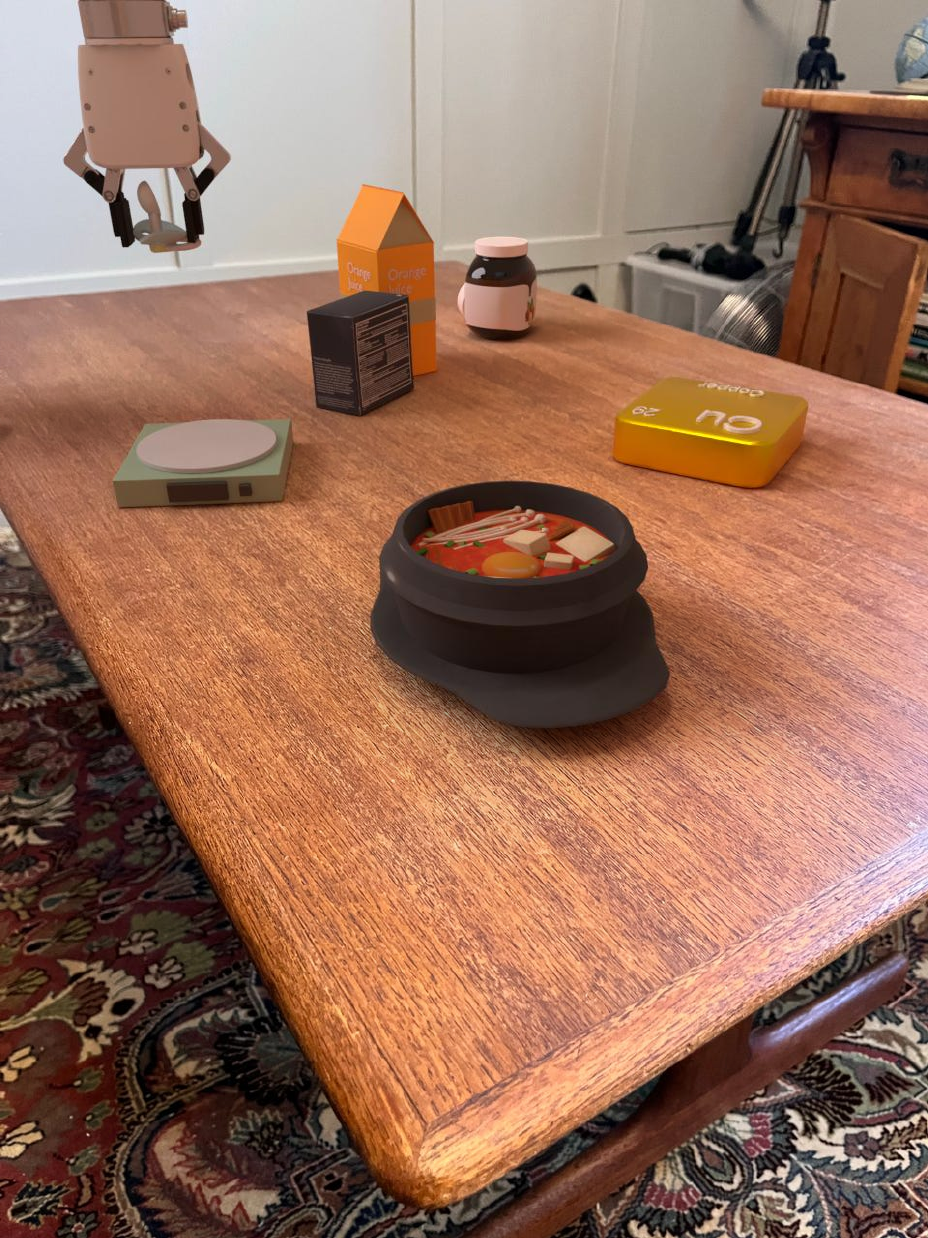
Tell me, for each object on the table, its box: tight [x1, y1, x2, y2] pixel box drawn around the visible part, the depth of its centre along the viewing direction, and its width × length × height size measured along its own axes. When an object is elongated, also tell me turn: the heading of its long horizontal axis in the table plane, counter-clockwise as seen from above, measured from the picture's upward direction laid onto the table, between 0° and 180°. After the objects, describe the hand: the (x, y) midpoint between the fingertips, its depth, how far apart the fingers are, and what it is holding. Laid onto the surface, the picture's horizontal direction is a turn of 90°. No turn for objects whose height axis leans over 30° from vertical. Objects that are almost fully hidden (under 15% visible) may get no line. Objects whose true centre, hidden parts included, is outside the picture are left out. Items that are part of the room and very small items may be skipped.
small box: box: [306, 290, 415, 417], centre depth 106 cm, size 11×6×10 cm, turn 149°
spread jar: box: [457, 235, 538, 341], centre depth 129 cm, size 12×11×12 cm
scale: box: [112, 418, 294, 508], centre depth 89 cm, size 14×14×3 cm
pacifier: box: [133, 180, 202, 254], centre depth 94 cm, size 7×6×6 cm
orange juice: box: [335, 183, 438, 377], centre depth 113 cm, size 8×9×20 cm
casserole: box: [369, 480, 671, 729], centre depth 63 cm, size 25×19×8 cm
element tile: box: [612, 376, 809, 489], centre depth 93 cm, size 15×15×5 cm
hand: (161, 241), depth 95 cm, fingers closed on pacifier, 5 cm apart
